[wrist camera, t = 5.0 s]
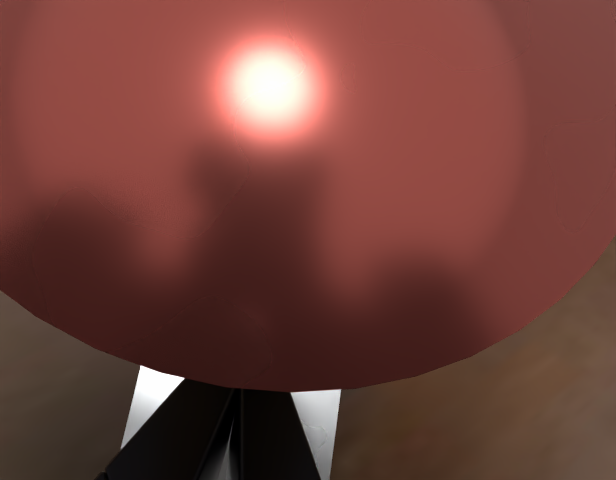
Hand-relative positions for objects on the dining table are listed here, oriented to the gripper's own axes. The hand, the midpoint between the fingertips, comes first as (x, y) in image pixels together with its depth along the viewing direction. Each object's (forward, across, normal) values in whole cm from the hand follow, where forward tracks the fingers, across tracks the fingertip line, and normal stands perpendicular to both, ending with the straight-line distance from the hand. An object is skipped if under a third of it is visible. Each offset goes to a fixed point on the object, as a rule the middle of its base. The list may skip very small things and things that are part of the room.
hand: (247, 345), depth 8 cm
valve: (+7, 0, +2) cm, 8 cm away
